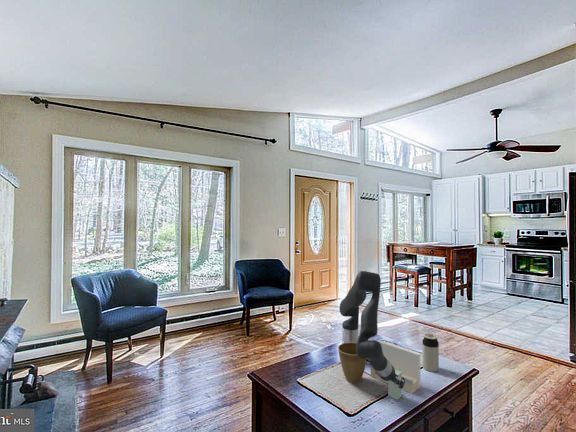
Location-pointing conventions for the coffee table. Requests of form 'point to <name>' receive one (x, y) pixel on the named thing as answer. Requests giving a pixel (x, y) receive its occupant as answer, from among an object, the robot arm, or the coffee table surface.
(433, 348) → the travel mug
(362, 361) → the plant pot
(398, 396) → the pale green block
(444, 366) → the coffee table surface
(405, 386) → the white display stand
